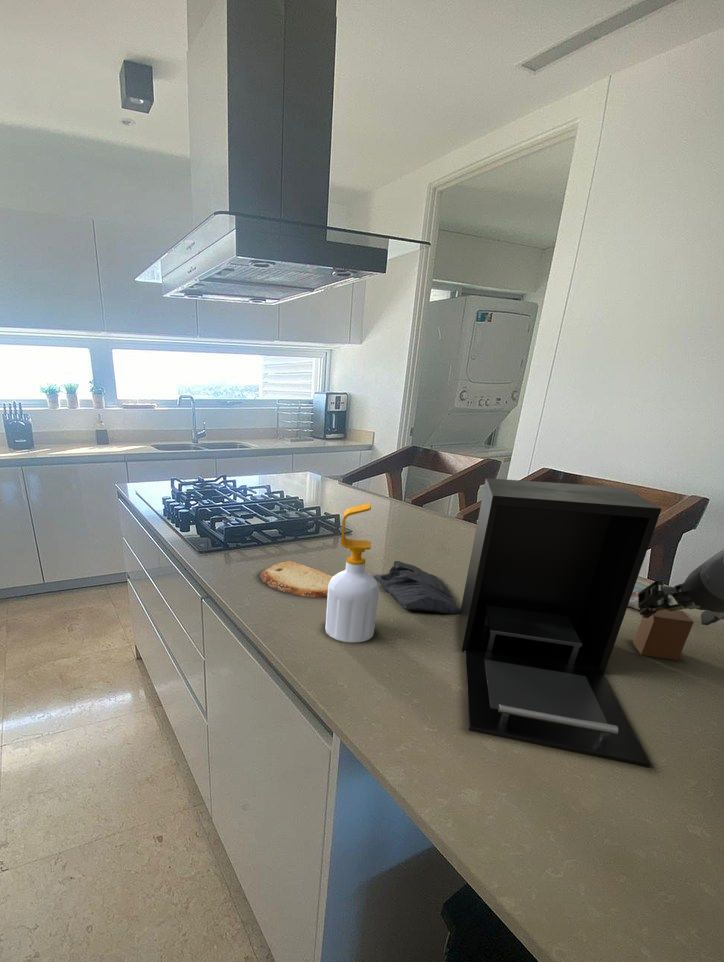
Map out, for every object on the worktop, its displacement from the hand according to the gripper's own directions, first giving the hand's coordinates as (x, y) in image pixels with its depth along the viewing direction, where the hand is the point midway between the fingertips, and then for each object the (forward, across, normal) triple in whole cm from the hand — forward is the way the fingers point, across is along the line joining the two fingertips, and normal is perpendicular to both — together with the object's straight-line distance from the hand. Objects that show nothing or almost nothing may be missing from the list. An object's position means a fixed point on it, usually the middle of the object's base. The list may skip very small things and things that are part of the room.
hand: (673, 616), depth 83 cm
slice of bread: (+12, +68, -2) cm, 69 cm away
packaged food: (+23, -2, -11) cm, 25 cm away
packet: (+6, 0, +5) cm, 8 cm away
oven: (-5, +22, +16) cm, 28 cm away
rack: (+1, +22, +8) cm, 24 cm away
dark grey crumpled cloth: (+14, +42, -4) cm, 45 cm away
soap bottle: (-2, +53, +13) cm, 55 cm away
